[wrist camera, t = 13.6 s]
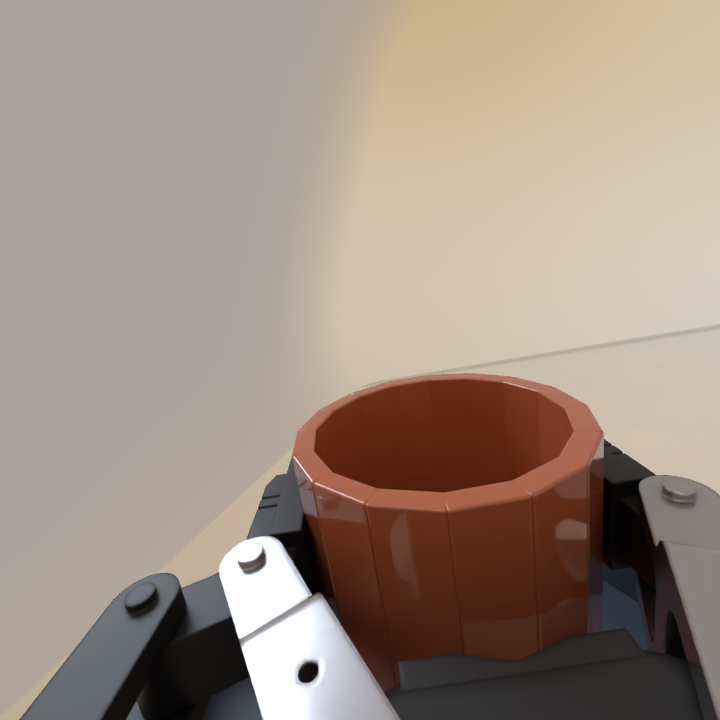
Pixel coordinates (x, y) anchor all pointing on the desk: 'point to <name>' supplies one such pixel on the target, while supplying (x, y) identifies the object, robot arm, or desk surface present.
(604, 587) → the tray
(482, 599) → the tumbler
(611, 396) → the desk surface
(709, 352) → the desk surface
